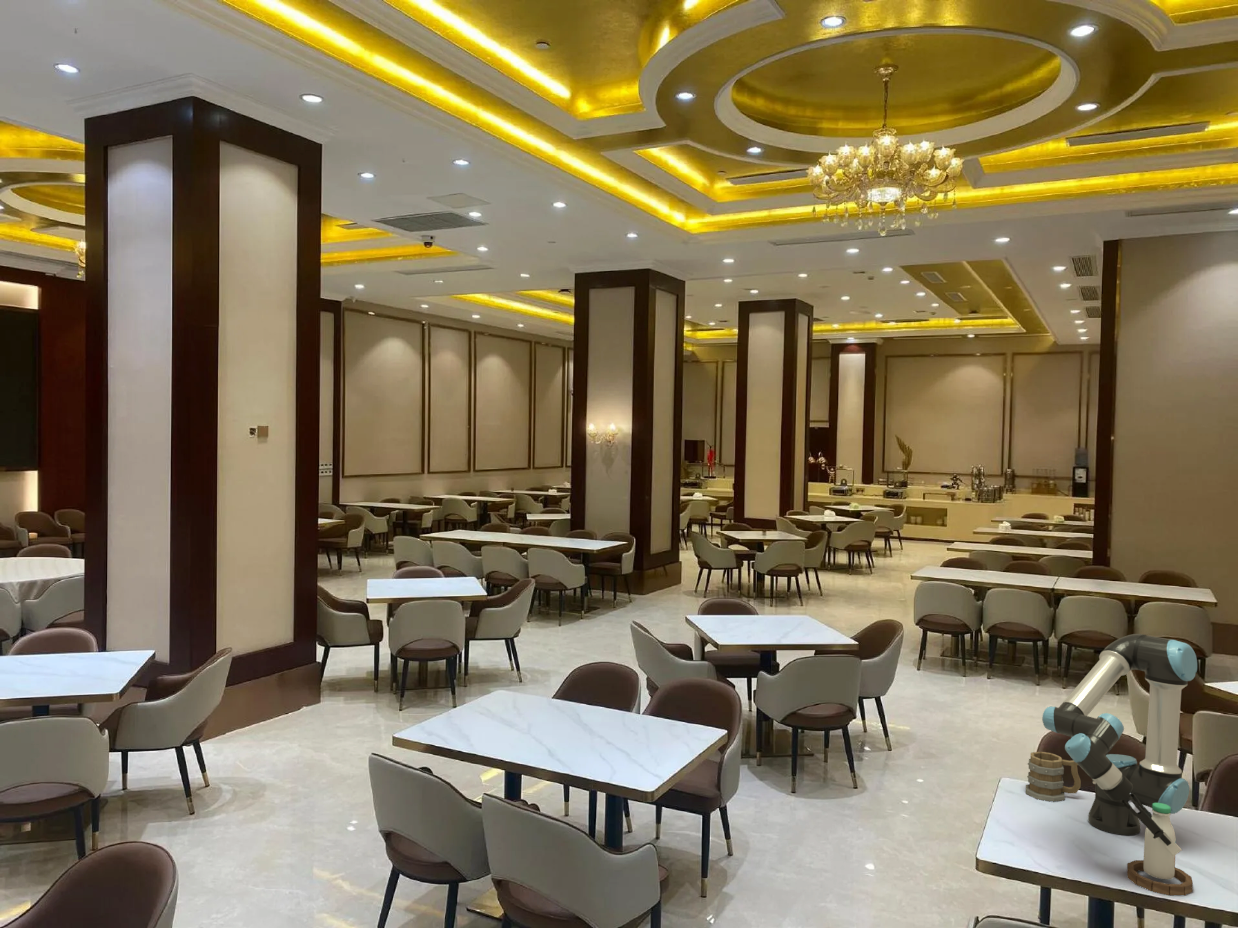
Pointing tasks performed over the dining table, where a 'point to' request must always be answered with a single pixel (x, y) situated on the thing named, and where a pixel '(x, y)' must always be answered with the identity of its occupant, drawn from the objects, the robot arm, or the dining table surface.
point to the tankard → (1050, 777)
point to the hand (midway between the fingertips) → (1173, 846)
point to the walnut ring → (1160, 887)
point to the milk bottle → (1159, 845)
